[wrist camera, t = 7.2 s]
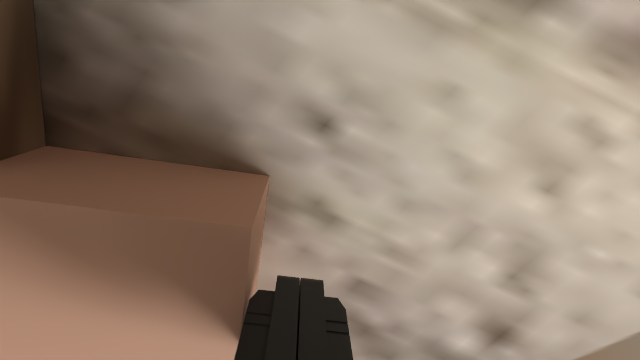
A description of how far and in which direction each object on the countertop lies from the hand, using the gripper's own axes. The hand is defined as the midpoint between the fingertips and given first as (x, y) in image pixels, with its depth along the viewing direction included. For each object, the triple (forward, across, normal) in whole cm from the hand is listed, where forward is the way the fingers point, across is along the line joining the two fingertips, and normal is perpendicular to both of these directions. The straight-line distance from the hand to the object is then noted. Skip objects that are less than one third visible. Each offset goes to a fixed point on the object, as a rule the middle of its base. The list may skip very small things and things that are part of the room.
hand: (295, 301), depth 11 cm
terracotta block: (+3, +6, +1) cm, 6 cm away
